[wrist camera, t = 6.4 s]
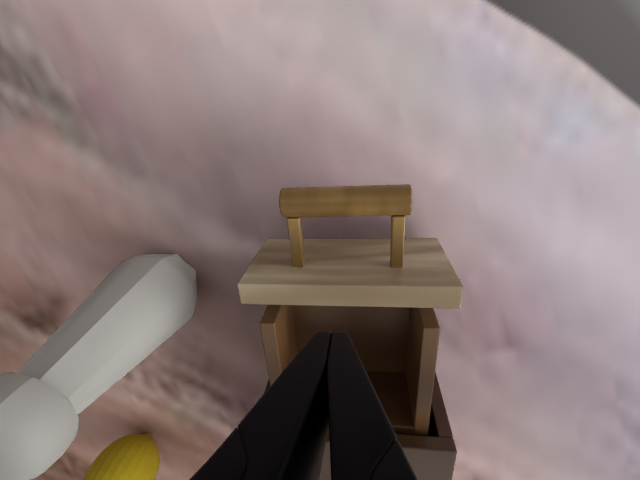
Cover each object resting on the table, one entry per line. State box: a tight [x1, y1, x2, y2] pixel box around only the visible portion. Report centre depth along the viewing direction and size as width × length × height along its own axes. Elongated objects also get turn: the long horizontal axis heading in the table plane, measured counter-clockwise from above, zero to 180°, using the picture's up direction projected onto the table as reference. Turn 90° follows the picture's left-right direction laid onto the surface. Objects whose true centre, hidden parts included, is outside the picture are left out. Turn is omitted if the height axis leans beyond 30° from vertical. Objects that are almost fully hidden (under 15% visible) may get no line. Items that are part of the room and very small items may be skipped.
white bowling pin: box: [0, 254, 197, 480], centre depth 17 cm, size 6×6×13 cm
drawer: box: [237, 184, 463, 436], centre depth 18 cm, size 15×10×5 cm
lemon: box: [83, 433, 160, 480], centre depth 28 cm, size 6×6×8 cm
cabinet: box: [264, 372, 457, 480], centre depth 23 cm, size 12×12×7 cm
